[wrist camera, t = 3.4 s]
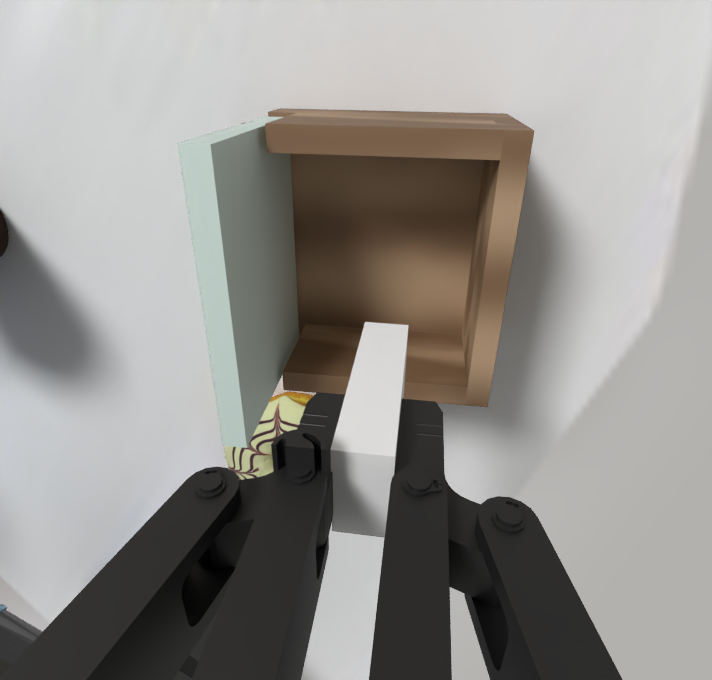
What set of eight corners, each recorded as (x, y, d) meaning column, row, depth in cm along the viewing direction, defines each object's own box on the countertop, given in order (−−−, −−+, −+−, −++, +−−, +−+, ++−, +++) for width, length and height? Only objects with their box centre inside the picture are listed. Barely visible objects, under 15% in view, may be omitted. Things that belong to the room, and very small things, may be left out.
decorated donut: (388, 431, 40) (384, 464, 37) (317, 504, 45) (309, 538, 42) (277, 362, 38) (263, 389, 35) (217, 445, 43) (199, 476, 40)
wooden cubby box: (475, 334, 35) (487, 407, 27) (292, 321, 36) (256, 387, 29) (506, 113, 28) (534, 130, 21) (280, 108, 29) (229, 122, 22)
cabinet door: (288, 117, 27) (210, 144, 17) (299, 338, 33) (246, 447, 24) (245, 115, 27) (144, 142, 18) (264, 336, 34) (198, 443, 24)
